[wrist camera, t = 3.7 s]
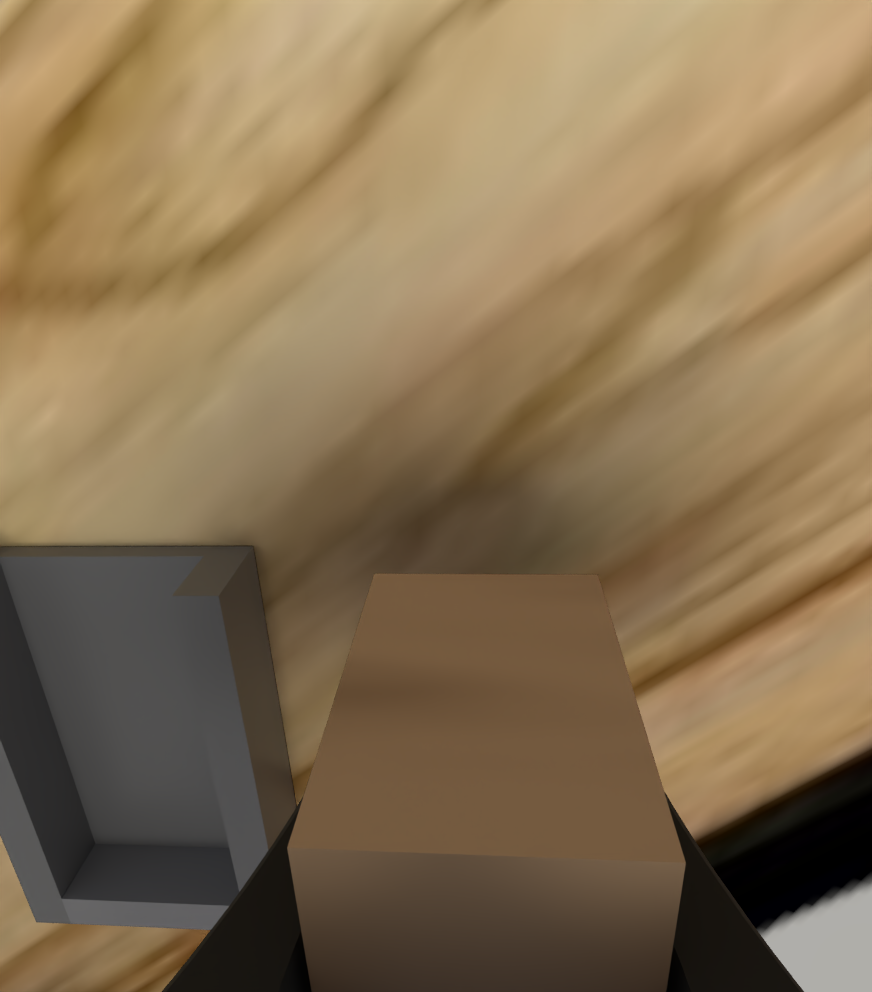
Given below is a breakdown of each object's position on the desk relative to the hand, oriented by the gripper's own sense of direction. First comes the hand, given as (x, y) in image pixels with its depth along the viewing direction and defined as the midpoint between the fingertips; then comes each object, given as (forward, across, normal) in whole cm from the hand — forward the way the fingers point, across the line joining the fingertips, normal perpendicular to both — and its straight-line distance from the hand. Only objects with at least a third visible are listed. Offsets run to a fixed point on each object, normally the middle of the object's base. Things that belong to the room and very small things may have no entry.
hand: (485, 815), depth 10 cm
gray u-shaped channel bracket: (+6, +9, +4) cm, 12 cm away
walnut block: (+2, 0, 0) cm, 2 cm away
